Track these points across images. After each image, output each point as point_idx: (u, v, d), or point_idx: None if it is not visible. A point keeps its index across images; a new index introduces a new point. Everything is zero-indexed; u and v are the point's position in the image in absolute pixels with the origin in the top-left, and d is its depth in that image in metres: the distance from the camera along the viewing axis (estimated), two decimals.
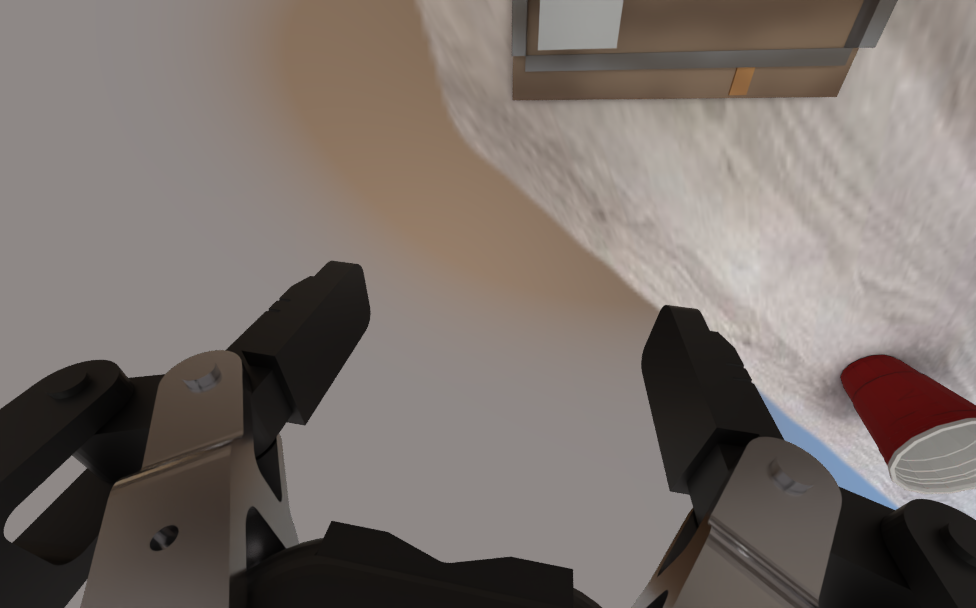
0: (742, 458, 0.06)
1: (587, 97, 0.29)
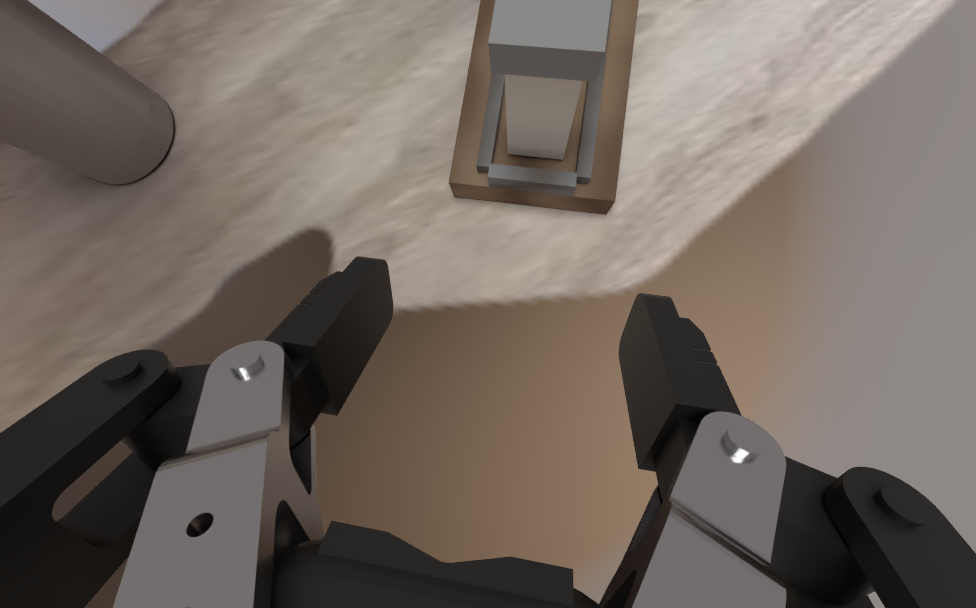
0: (697, 434, 0.06)
1: (622, 123, 0.27)
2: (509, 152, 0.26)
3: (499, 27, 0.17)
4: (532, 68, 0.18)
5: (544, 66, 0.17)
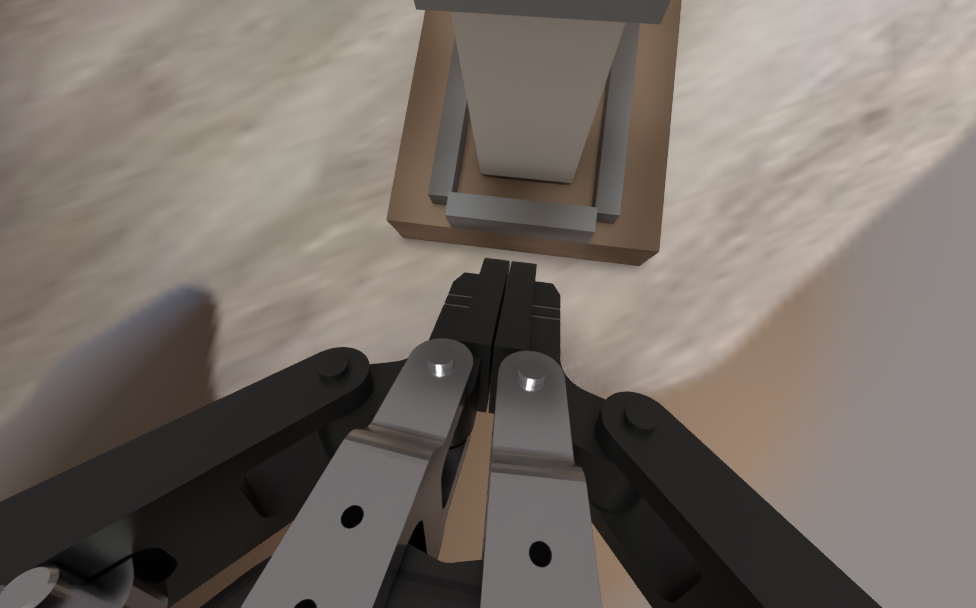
0: (498, 384, 0.06)
1: (667, 122, 0.16)
2: (483, 171, 0.16)
3: None
4: None
5: None
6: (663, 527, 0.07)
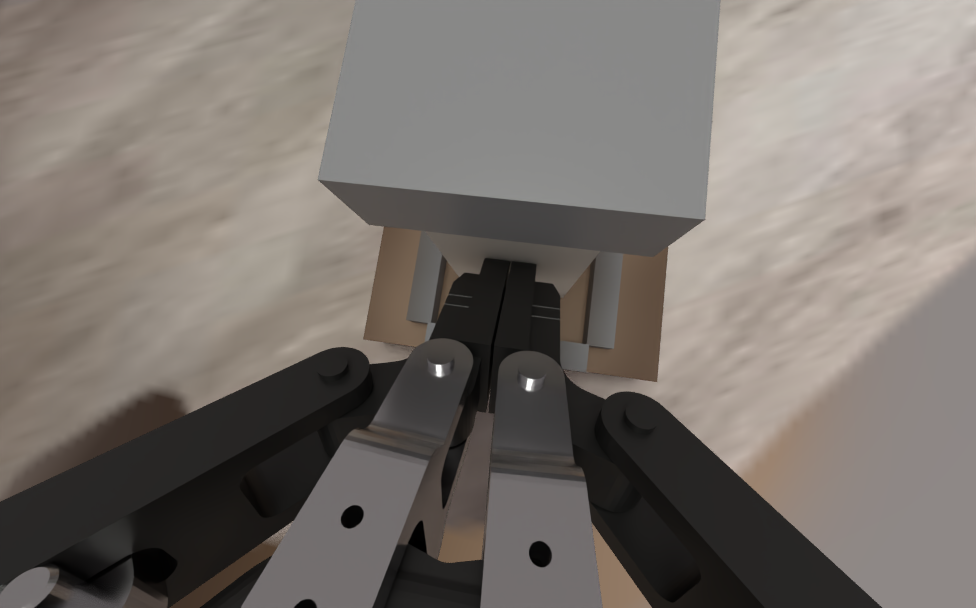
0: (498, 383, 0.06)
1: None
2: None
3: (353, 129, 0.05)
4: (473, 227, 0.06)
5: (506, 227, 0.06)
6: (663, 527, 0.07)
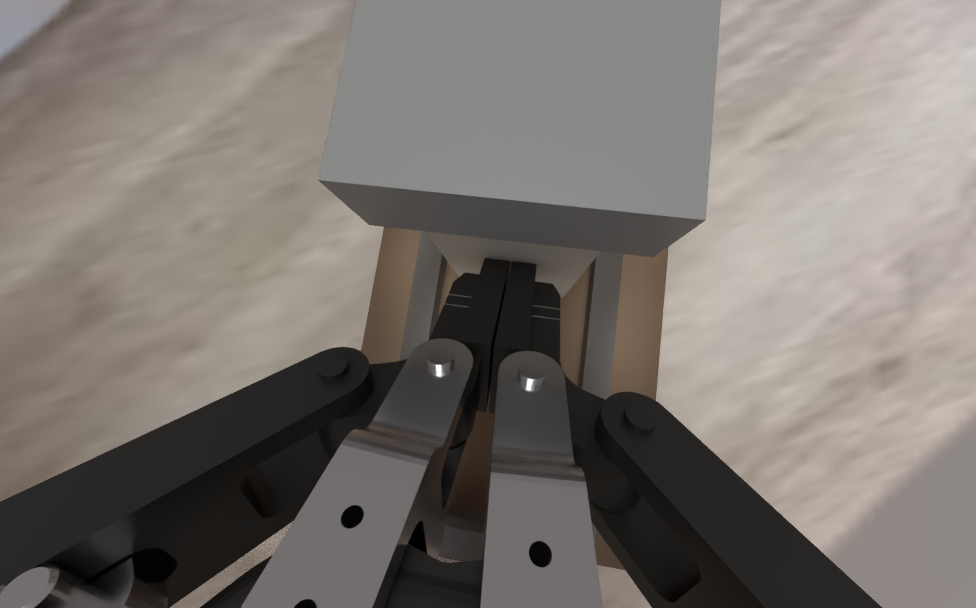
0: (498, 383, 0.06)
1: None
2: None
3: (353, 129, 0.05)
4: (473, 227, 0.06)
5: (506, 227, 0.06)
6: (663, 527, 0.07)
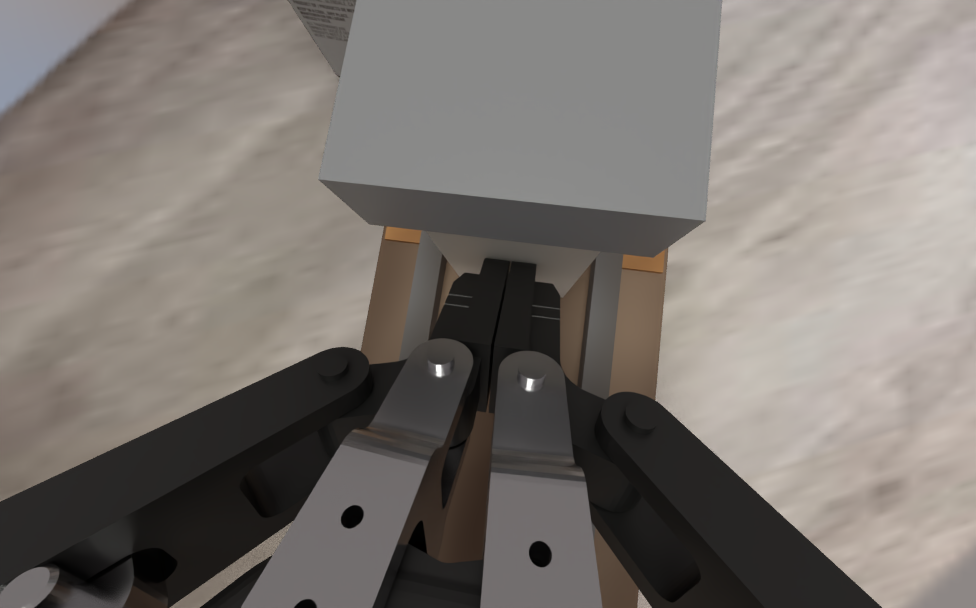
0: (498, 384, 0.06)
1: None
2: None
3: (354, 129, 0.05)
4: (473, 227, 0.06)
5: (506, 227, 0.06)
6: (663, 527, 0.07)
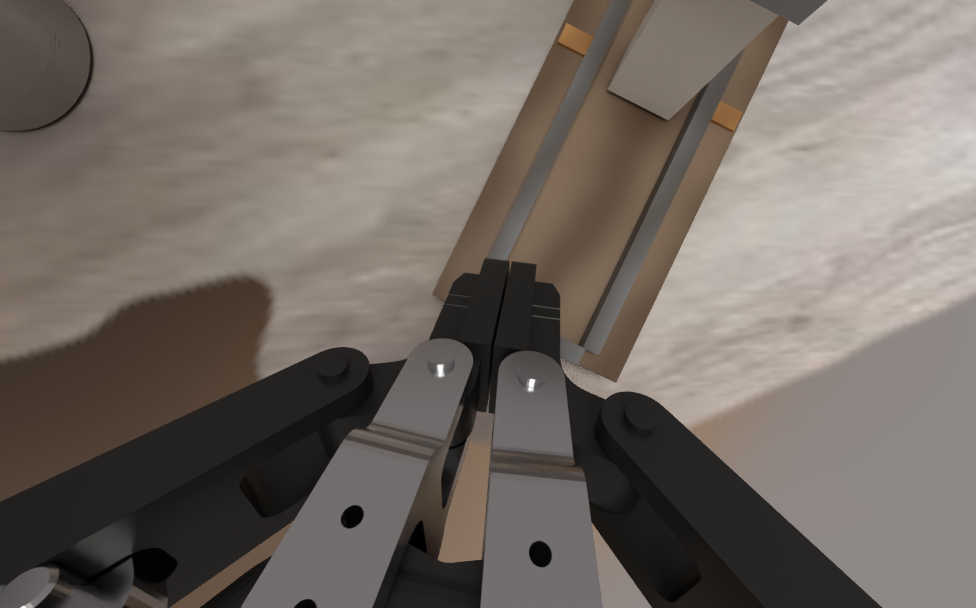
0: (498, 383, 0.06)
1: (657, 290, 0.22)
2: (610, 88, 0.21)
3: None
4: None
5: None
6: (663, 527, 0.07)
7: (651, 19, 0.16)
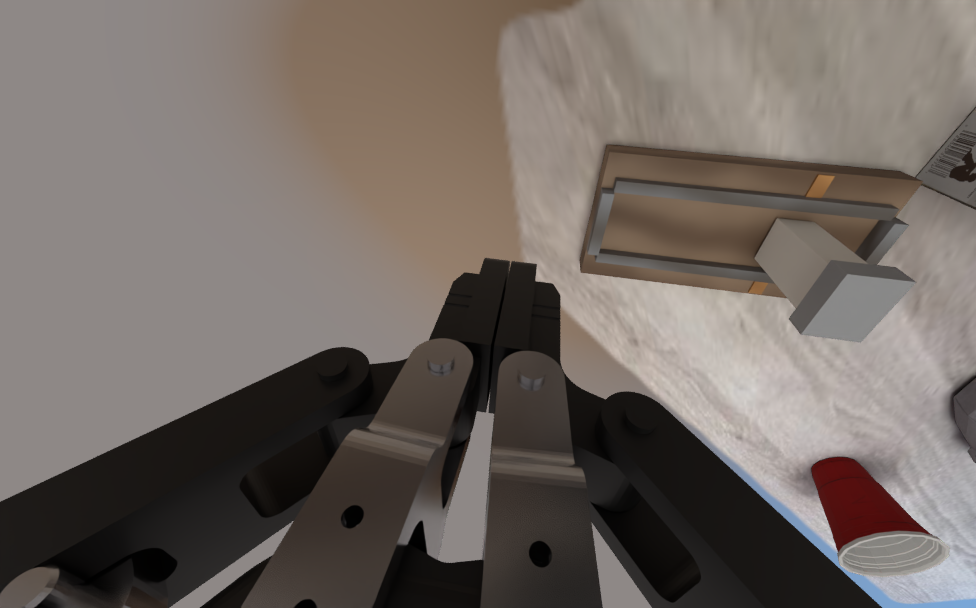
0: (498, 384, 0.06)
1: (639, 278, 0.38)
2: (777, 220, 0.31)
3: (856, 280, 0.23)
4: (816, 289, 0.26)
5: (813, 297, 0.26)
6: (663, 527, 0.07)
7: (809, 248, 0.27)
